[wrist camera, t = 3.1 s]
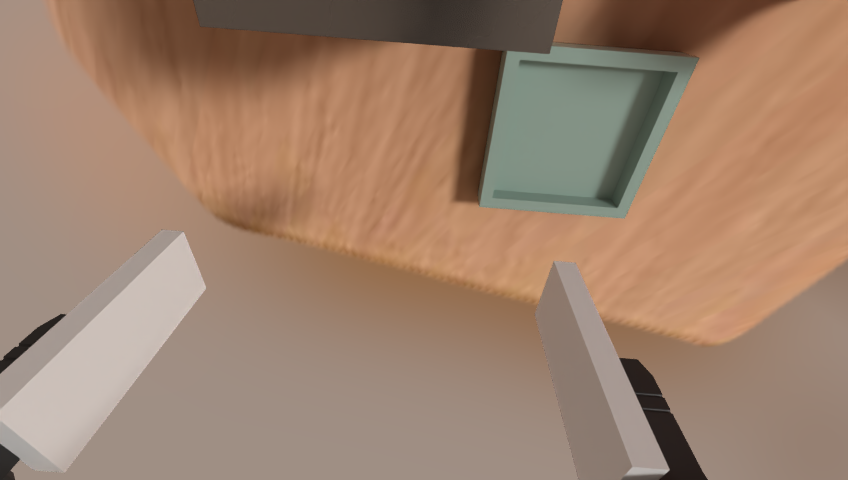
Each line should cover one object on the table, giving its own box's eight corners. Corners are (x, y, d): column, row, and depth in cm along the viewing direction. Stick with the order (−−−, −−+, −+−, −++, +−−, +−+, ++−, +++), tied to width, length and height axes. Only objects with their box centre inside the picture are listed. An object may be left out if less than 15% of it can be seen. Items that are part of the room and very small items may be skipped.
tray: (504, 38, 21) (508, 42, 20) (682, 52, 21) (699, 57, 20) (477, 194, 28) (479, 206, 26) (615, 205, 28) (624, 218, 26)
